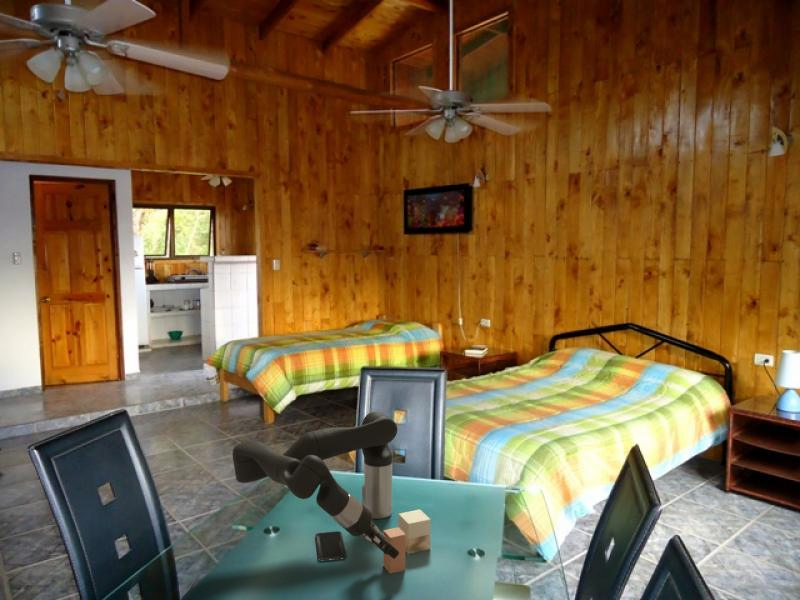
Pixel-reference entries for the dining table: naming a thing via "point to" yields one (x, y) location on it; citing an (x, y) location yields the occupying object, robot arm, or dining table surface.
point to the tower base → (417, 544)
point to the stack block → (399, 543)
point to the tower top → (414, 523)
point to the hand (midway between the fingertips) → (389, 547)
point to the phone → (330, 545)
